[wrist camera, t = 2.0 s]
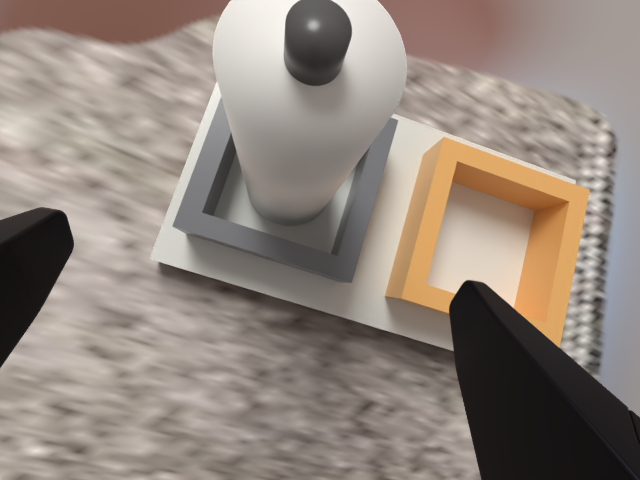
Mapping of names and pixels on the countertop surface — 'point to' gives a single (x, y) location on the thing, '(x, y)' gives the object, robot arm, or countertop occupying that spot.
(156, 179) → the countertop surface
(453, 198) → the dock
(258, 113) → the white bottle
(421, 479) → the countertop surface
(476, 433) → the robot arm
